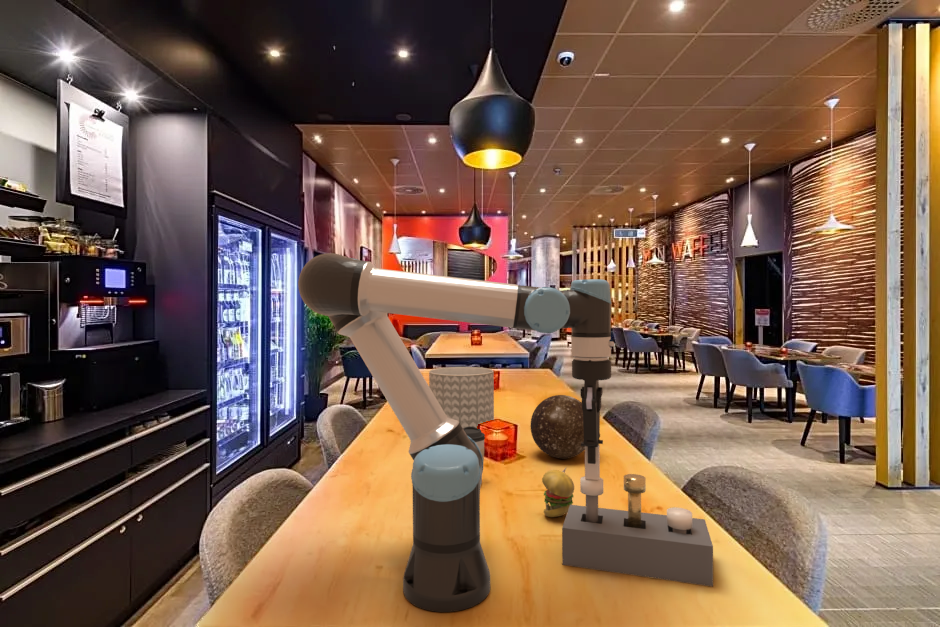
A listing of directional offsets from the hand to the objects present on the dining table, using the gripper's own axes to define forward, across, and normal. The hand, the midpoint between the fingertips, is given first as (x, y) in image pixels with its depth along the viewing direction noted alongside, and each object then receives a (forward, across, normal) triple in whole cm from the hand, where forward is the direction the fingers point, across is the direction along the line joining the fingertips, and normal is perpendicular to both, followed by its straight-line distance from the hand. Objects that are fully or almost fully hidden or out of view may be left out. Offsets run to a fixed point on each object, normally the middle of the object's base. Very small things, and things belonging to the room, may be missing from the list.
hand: (592, 478), depth 102 cm
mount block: (+15, 0, -8) cm, 17 cm away
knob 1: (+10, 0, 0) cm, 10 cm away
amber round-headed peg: (+9, 0, -8) cm, 12 cm away
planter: (+15, +87, +57) cm, 105 cm away
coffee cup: (+15, +32, +36) cm, 51 cm away
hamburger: (+15, +16, +9) cm, 24 cm away
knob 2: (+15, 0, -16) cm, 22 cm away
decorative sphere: (+15, +64, +15) cm, 68 cm away
